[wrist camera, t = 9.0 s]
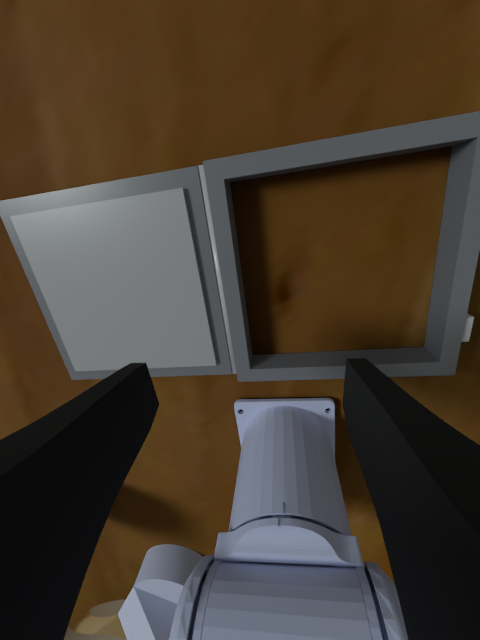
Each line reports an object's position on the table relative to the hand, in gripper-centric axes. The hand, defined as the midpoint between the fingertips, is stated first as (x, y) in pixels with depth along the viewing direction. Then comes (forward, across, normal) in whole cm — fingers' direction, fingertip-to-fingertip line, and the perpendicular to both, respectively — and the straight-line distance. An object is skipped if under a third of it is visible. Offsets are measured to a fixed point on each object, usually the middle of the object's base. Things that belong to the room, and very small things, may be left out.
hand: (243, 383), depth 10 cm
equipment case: (+10, +2, -1) cm, 10 cm away
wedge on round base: (+8, +14, +38) cm, 41 cm away
